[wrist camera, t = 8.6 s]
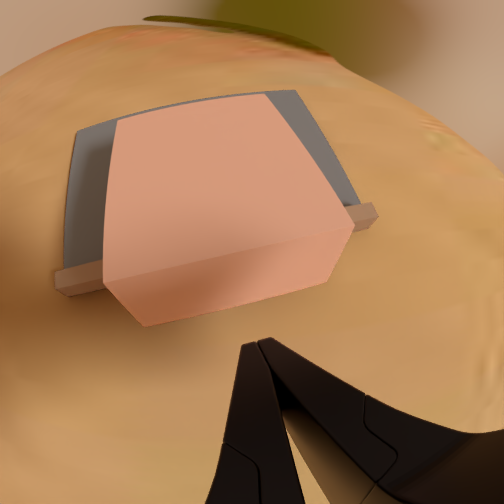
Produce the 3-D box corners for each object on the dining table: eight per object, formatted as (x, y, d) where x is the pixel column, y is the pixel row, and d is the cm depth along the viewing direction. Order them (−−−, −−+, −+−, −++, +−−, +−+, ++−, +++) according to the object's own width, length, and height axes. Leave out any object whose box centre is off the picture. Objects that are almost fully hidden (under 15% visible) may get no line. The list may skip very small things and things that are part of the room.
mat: (68, 296, 16) (55, 289, 15) (79, 134, 22) (73, 121, 20) (368, 228, 20) (378, 216, 18) (294, 93, 26) (297, 80, 24)
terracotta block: (102, 283, 9) (117, 120, 16) (143, 327, 14) (134, 174, 20) (355, 225, 11) (264, 93, 17) (326, 282, 15) (261, 149, 21)
